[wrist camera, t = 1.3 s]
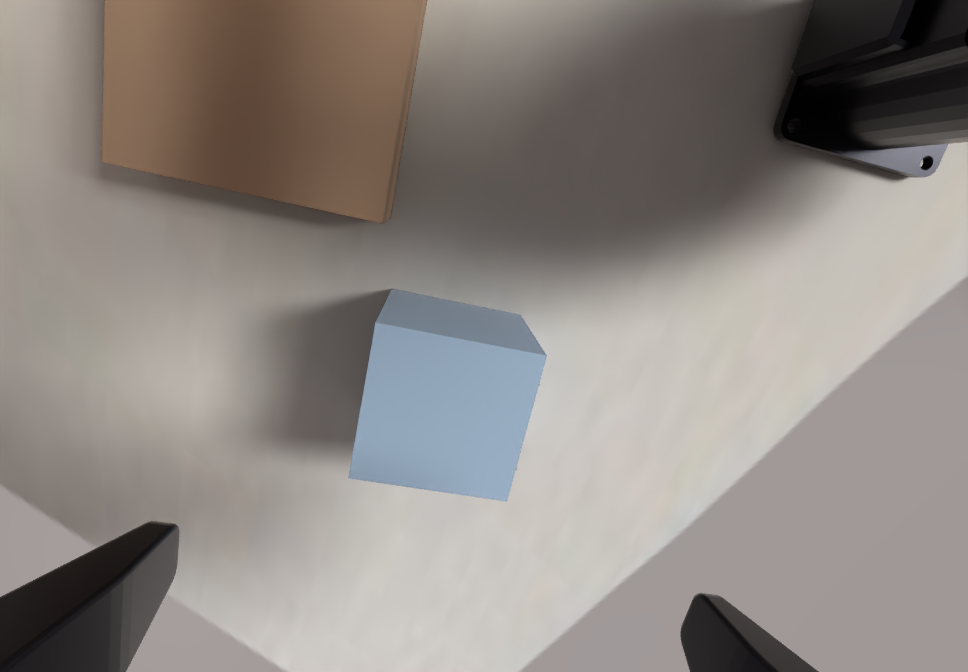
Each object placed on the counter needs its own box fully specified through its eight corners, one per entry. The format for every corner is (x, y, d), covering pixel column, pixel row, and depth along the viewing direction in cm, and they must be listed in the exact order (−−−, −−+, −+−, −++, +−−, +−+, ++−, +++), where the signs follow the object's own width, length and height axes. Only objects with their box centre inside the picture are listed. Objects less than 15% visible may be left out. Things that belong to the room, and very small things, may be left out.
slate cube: (520, 314, 19) (546, 355, 15) (491, 429, 21) (506, 501, 16) (391, 288, 19) (375, 322, 14) (370, 408, 20) (348, 478, 15)
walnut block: (432, -30, 16) (431, -77, 13) (391, 218, 18) (381, 223, 15) (172, -106, 15) (107, -176, 12) (158, 166, 17) (101, 162, 14)
